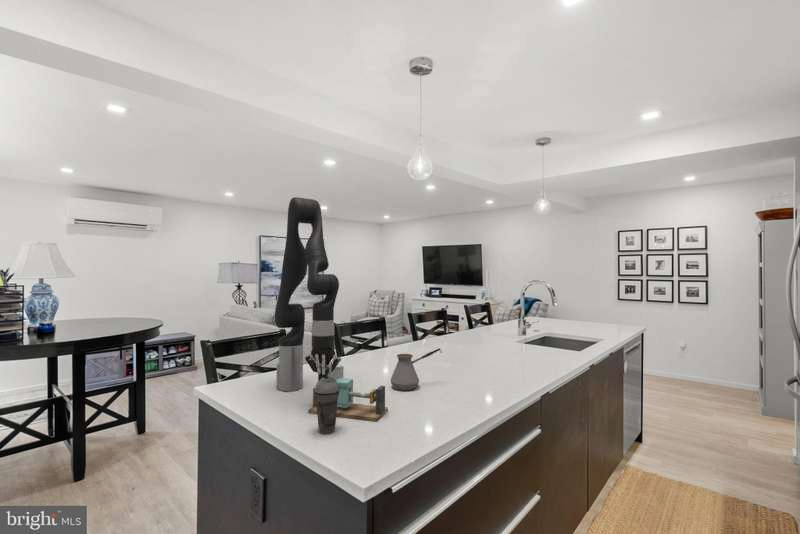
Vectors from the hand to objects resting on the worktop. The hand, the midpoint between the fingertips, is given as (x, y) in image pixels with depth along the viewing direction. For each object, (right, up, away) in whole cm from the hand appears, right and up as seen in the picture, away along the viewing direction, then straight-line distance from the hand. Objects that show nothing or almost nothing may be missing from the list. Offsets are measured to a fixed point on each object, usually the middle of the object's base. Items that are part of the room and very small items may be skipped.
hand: (323, 384), depth 131 cm
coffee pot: (+33, -9, +25) cm, 42 cm away
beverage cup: (+5, -8, -18) cm, 20 cm away
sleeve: (+7, -6, -2) cm, 9 cm away
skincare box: (+2, -8, +11) cm, 14 cm away
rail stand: (+9, -8, -3) cm, 12 cm away
